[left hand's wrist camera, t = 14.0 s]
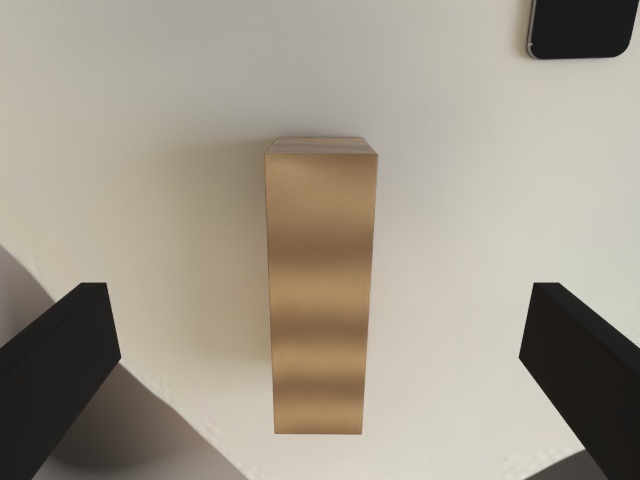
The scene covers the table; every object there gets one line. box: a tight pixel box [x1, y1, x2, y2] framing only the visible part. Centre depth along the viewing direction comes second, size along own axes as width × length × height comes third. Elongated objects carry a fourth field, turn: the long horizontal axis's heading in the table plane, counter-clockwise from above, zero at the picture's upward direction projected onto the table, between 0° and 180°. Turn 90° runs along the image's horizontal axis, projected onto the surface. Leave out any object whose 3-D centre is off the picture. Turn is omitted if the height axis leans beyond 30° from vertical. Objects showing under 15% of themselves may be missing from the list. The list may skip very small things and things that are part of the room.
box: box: [264, 137, 378, 434], centre depth 32 cm, size 22×7×9 cm, turn 179°
